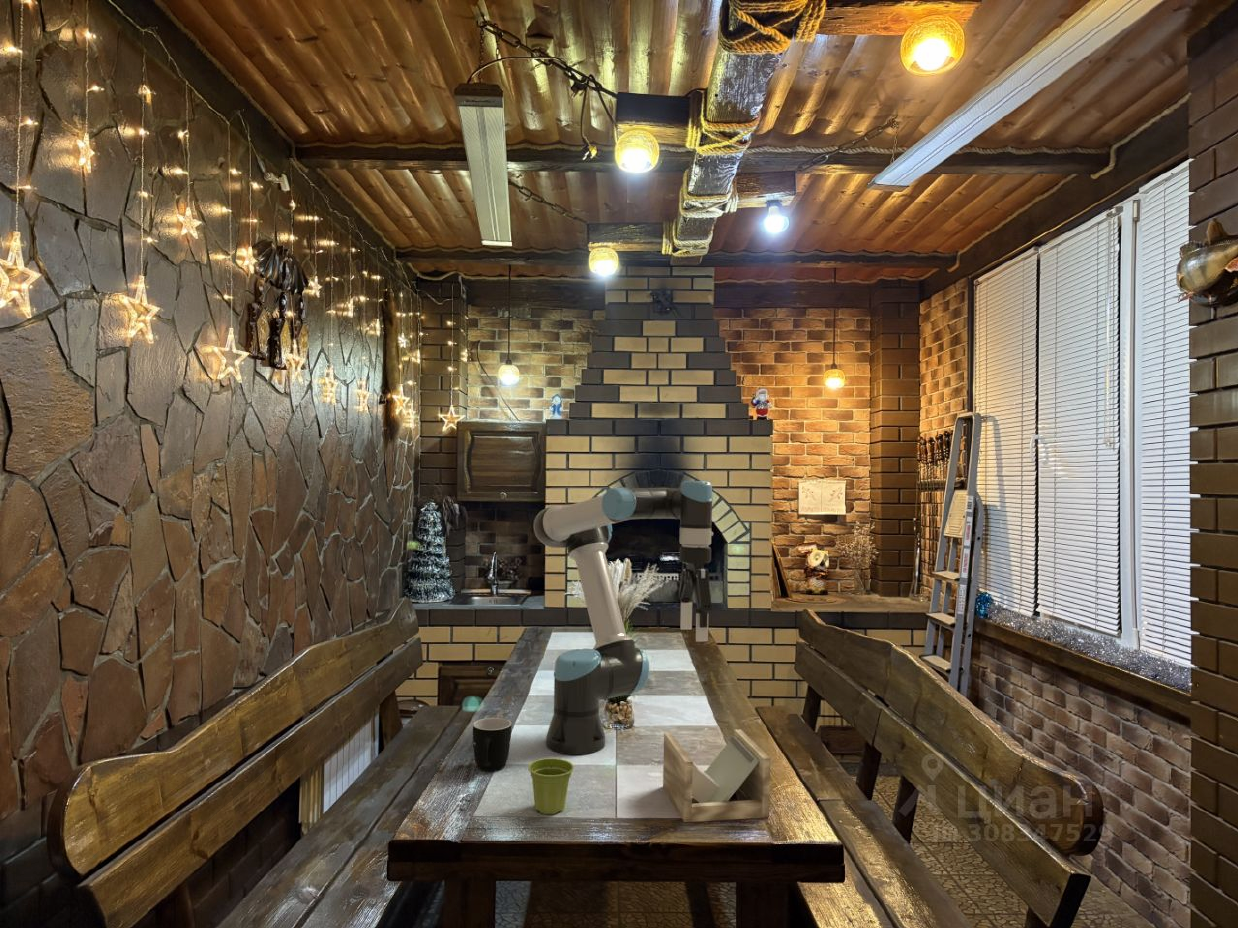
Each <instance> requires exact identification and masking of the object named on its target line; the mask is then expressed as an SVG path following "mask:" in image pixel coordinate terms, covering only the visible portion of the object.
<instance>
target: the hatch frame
mask: <svg viewBox="0 0 1238 928" xmlns="http://www.w3.org/2000/svg"><path fill="white" fill-rule="evenodd" d="M672 733H673V732H671V731H667V732H663V765H662V766H663V770H662V773H663V774H662V787H663V789H664V790H665V792H666V794H667V796H668V798H670V800H671V803H672V804H673V805H674V807H675V809H676V811H677V812H678V815H679V816H680V818H681V819H682V821H683V822H684V823H694V822H708V821H709V822H711V821H725V820H740V819H741V820H743V819H759V818H770V803H771V802H770V799H771V798H770V796H771V795H770V793H771V791H770V790H771V757H770V756H769V755H768V754H767V753H766V752H764V750H763V749H762V748H760V746H759V745H758V744H757V743H755V741H754V740H752V739H751V738H750V736H749V735H747V733H746V732H744V731H743V730H742V729H741V728H740V729H734V735H733V736H735V737H736V738H737V739H738V740H739V741H740V742H741V743H742V744H743V745H744V746H745V747H746V748H747V749H748V750H749V751H750V752H751V753H752V755H753V756H754V757H755V758H756V759H757V760H758V761H759V762H758V764H757V765H756V766H755V767H754V769H753V770H752V771H751V773H750V774H749V775H748V776H747V778H746V779H745V780H744V781H743V783H742V784H741V785H740V787H739V788H738V789H737V790H739V791H740V792H741V793H742V795H743V796H744V797H745V799H746V800H732V801H731V800H729V801H728V802H710V803H699V802H695V803H693V797H692V770H693V763H694V761H693V760H692V759H691V758H690V756H689V755H688V753H686V751H685V749H684V748H683V747H682V746H681V744H680V743H679V742H678V740H677V739H676V737H675V736H674V735H673V734H672ZM703 771H704V772H705V771H706V770H703Z"/></svg>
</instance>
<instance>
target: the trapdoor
mask: <svg viewBox="0 0 1238 928" xmlns="http://www.w3.org/2000/svg"><path fill="white" fill-rule="evenodd" d="M758 762H759V761H758V760H757V759H756V758H755V757H754V756H753V755H752V753H751V752H750V751H749V750H748V749H747V748H746V747H745V746H744V745H743V744H742V743H741V742H740V741H739V740H738V739H737V738H736V737H735V736H734V735H733V736H732V737H731V738H730V739H729V741H728V742H727V743H726V745H725V746H724V747H723V748H722V749H721V751H720V752H719V753H718V755H717V756H716V757H715V758H714V760H713V761H712V762H711V764H710V765H709V766H708V768H707V769H706V770H704V771H705V773H706V774H708V775H709V776H710V777H711V778H712V779H713V780H714V782H715V783H716V784H717V785H718V787H719V788H718V789H717V791H716V792H715V793H714V794H713V796H712V797H711V798H710V799H709V801H708V802H707V803H710V802H728V801H730V799H731V798H732V796H733V795H734V794H735V793H736V791H737V790H739V789H738V788H739V787H740V785H741V784H742V783H743V781H744V780H745V779H746V778H747V776H748V775H749V774H750V773H751V771H752V770H753V769H754V767H755V766H756V765H757V764H758Z"/></svg>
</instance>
